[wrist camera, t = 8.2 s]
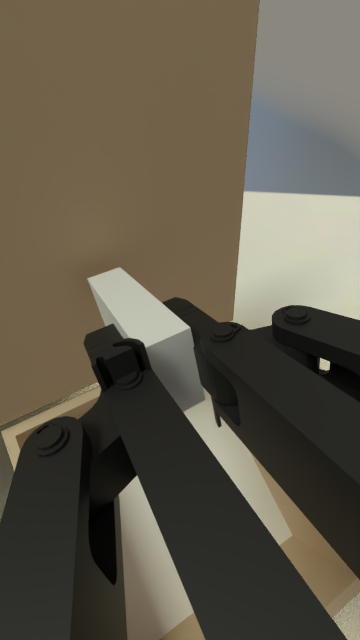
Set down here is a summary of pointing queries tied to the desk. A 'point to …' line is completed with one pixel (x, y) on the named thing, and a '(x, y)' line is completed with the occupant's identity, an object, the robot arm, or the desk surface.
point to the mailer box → (152, 553)
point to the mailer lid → (115, 170)
